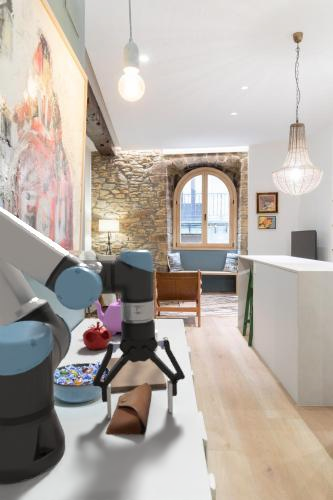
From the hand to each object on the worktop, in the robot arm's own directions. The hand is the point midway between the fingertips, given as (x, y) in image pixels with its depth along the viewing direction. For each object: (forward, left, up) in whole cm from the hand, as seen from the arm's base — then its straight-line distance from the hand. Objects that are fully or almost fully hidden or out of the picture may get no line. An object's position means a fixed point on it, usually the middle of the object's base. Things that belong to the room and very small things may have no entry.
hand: (140, 412), depth 80 cm
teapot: (-4, +69, 0) cm, 69 cm away
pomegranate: (-12, +50, 0) cm, 52 cm away
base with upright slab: (+5, +46, 0) cm, 46 cm away
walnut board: (0, +23, 0) cm, 23 cm away
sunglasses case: (-2, 0, -1) cm, 2 cm away
